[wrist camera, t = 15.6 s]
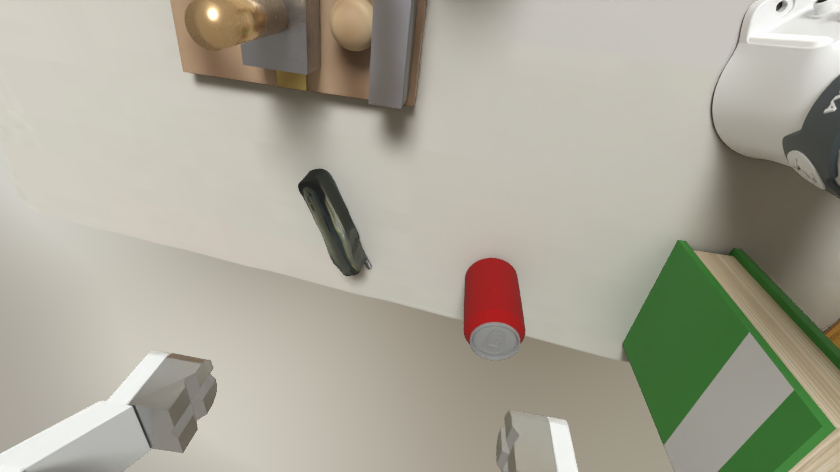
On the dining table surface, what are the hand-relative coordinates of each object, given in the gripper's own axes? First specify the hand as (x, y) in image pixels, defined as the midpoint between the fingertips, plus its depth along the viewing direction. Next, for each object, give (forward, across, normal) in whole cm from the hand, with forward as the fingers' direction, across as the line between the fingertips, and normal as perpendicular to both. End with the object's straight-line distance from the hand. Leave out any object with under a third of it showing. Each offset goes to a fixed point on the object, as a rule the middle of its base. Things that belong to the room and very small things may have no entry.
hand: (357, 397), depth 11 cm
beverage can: (+37, -10, +23) cm, 45 cm away
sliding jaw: (+35, +15, -5) cm, 38 cm away
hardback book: (+37, -34, +22) cm, 55 cm away
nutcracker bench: (+37, +16, -5) cm, 41 cm away
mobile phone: (+38, +10, +18) cm, 43 cm away
